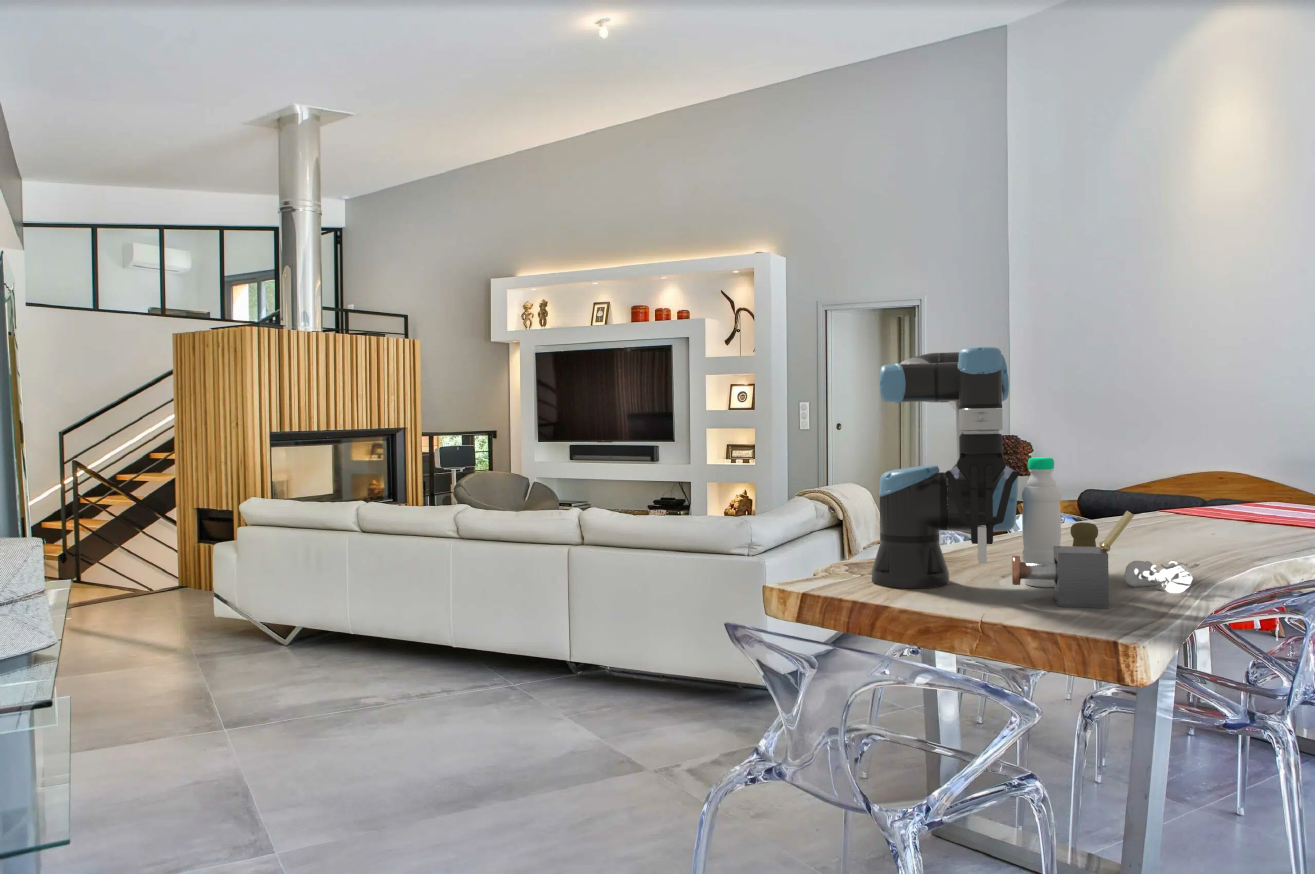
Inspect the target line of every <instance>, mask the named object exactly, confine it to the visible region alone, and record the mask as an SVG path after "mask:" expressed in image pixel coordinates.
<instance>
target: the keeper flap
mask: <svg viewBox="0 0 1315 874" xmlns="http://www.w3.org/2000/svg"><path fill="white" fill-rule="evenodd" d="M1134 517H1135V514H1134V513H1131V512H1130V511H1128V510H1126V511H1125V512H1124V514H1123V515H1122V516H1121V518H1120V519H1119V521H1118V522H1117V523H1116V524H1115V526H1113V528H1112V530H1110V532H1109V533H1108V535H1107V536H1106V537H1105V538H1104V540H1102V541H1099V545H1098V547H1101V548H1102V549H1103V550H1104V551H1106V552H1107V553H1108V552H1110V550H1111V546H1112V545H1113V543H1114V542H1115V541H1116V540H1117V539H1118V538H1119V536H1120V535H1121V534H1122V532H1123V531H1124V529H1126V527H1127V526H1128V524H1129V523H1130V522H1131V520H1132V519H1133V518H1134Z"/></svg>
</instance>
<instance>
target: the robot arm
mask: <svg viewBox="0 0 1315 874" xmlns="http://www.w3.org/2000/svg"><path fill="white" fill-rule="evenodd" d="M879 369H880V371H879V392H880V393H879V395H880V399H881V401H883V402H884V403H894V404H900V403H919V402H920V403H921V402H922V403H923V402H926V403H949V405H950V406H951V408H952V409H953V410H954V411H955V426H956V427H955V428H956V458H957V459H956V463H955V464H954V465H953V466H952V468H951V469H948V470H946V471H945V472H940V468H939V466H938V465H937V464H931V465H930V464H929V465H919V466H917V465H916V466H911V467H904V468H898V469H897V468H896V469H892V470H888V471H885V472H883V473H882V474H881V476H880V477H879V489H878V490H879V493H878V495H877V496H878V497H879V546H878V550H877V553H876V556H875V559H874V562H873V565H872V569H871V581H872V583H874V584H876V585H879V586H885V587H891V588H898V589H899V588H902V589H930V588H939V587H944V586H946V585H949V584H950V573H949V572H950V571H949V569H948V565H947V562H946V560H945V557H944V554H943V550H942V548H941V544H940V532H941V531H944V532H945V531H951V532H954V531H956V532H970V542H971V544H972V545H977V564H987V562H988V561H987V560H988V558H987V555H988V551H987V545H993V543H994V533H995V532H1007V531H1010V530H1012V529H1013V528H1014V526H1015V524H1016V519H1017V518H1016V515H1017V506H1018V504H1017V503H1018V495H1019V494H1018V492H1019V491H1018V490H1019V472H1018V471H1017V470H1015V469H1012V468H1011V467H1009V466H1007V462H1006V460H1005V458H1004V445H1003V444H1004V439H1003V437H1004V436H1003V434H1002V433H1000V432H1001V431H1002V430H1004V429H1003V428H1004V427H1003V423H1004V422H1003V421H1004V420H1003V418H1004V417H1003V402H1005V401H1006V400H1007V399H1008V397H1009V392H1010V384H1009V383H1010V381H1009V380H1010V378H1009V374H1008V365H1007V362H1006V358H1005V357H1004V355H1003V354H1002V351H1001V349H1000V348H999V347H996V346H995V347H992V346H983V347H981V346H979V347H966V348H962V349H961V350H960V351H956V352H955V351H954V352H930V353H924V354H921V355H917V356H914V357H911V358H910V357H909V358H907V359H905V360H903V361H901V362H900V363H894V364H884V365H882V366H881V367H880V368H879Z"/></svg>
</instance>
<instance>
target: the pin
mask: <svg viewBox="0 0 1315 874" xmlns="http://www.w3.org/2000/svg"><path fill="white" fill-rule="evenodd" d="M1023 579H1041V580H1057V563H1035V562H1023V561H1021V556H1020V555H1012V556H1011V581H1012V582H1011V583H1012V585H1013V586H1021V580H1023Z"/></svg>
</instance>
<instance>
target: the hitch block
mask: <svg viewBox="0 0 1315 874" xmlns="http://www.w3.org/2000/svg"><path fill="white" fill-rule="evenodd" d="M1054 563H1057V580H1054V587H1053V598H1054V601H1055V602H1056V604H1057V606H1058V607H1061V608H1062V607H1063V608H1084V609H1087V608H1088V609H1089V608H1090V609H1109V604H1110V603H1109V597H1110V595H1109V592H1110V591H1109V553H1108V552H1106V551H1104V550H1103V549H1102V548H1101V547H1100V546H1096V547H1076V546H1073V545H1072V546H1069V545H1068V546H1067V545H1065V546H1064V545H1060V546H1054Z"/></svg>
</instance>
